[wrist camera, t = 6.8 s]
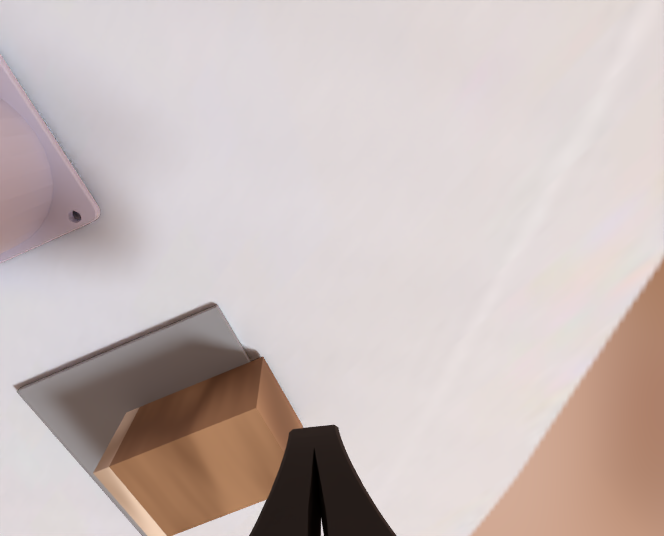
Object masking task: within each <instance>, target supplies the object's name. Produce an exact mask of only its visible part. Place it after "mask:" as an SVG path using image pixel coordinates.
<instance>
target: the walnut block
mask: <svg viewBox="0 0 664 536" xmlns="http://www.w3.org/2000/svg"><path fill="white" fill-rule="evenodd" d="M299 428H303V426H302V424H301V422H300V420H299V419H298V417H297V415H296V413H295V412H294V410H293V408H292V406H291V405H290V403H289V401H288V399H287V398H286V396H285V394H284V392H283V391H282V389H281V387H280V385H279V384H278V382H277V380H276V378H275V377H274V375H273V373H272V371H271V370H270V368H269V366H268V364H267V363H266V361H265V359H264V357H261V358H258V359H256V360H253V361H251V362H249V363H246V364H244V365H241V366H239V367H236V368H234V369H231V370H229V371H227V372H224V373H222V374H219V375H217V376H214V377H212V378H209V379H207V380H205V381H202V382H200V383H197V384H195V385H192V386H190V387H187V388H185V389H183V390H180V391H178V392H175V393H173V394H170V395H168V396H165V397H163V398H161V399H158V400H156V401H153V402H151V403H148V404H146V405H143V406H141V407H139V408H136V409H134V410H131V411H129V412H126V414H125V416H124V418H123V419H122V421H121V423H120V425H119V427H118V429H117V430H116V432H115V434H114V436H113V438H112V439H111V441H110V443H109V445H108V447H107V449H106V450H105V452H104V454H103V456H102V458H101V460H100V461H99V463H98V465H97V467H96V469H95V471H94V472H93V474H94V475H95V476H96V477H97V478H98V479H99V481H100V482H101V483H102V484H103V485H104V486H105V487H106V489H107V490H108V491H109V492H110V493H111V494H112V496H113V497H114V498H115V499H116V500H117V501H118V502H119V504H120V505H121V506H122V507H123V508H124V509H125V511H126V512H127V513H128V514H129V515H130V516H131V517H132V519H133V520H134V521H135V522H136V523H137V524H138V526H139V527H140V528H141V529H142V530H143V531H144V533H145V534H146V535H147V536H172V535H175V534H177V533H180V532H183V531H185V530H188V529H191V528H193V527H196V526H198V525H201V524H204V523H206V522H209V521H211V520H214V519H217V518H219V517H222V516H225V515H227V514H230V513H232V512H235V511H238V510H240V509H243V508H245V507H248V506H251V505H253V504H256V503H259V502H261V501H264V500H266V499H267V498H268V496H269V493H270V491H271V489H272V486H273V483H274V481H275V478H276V476H277V473H278V470H279V468H280V465H281V462H282V459H283V456H284V452H285V449H286V445H287V441H288V436H289V432H290V431H291V430H292V429H299Z"/></svg>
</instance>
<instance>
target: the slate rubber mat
mask: <svg viewBox="0 0 664 536" xmlns="http://www.w3.org/2000/svg"><path fill="white" fill-rule="evenodd" d="M249 362H251V361H250V359H249V357H248V356H247V354H246V352H245V350H244V349H243V347H242V345H241V344H240V342H239V340H238V339H237V337H236V335H235V333H234V332H233V330H232V328H231V327H230V325H229V323H228V322H227V320H226V318H225V316H224V315H223V313H222V311H221V310H220V308H219V306H218V305H215V306H213V307H211V308H208V309H206V310H203V311H201V312H199V313H196V314H194V315H192V316H189V317H187V318H185V319H182V320H180V321H177V322H175V323H173V324H170V325H168V326H166V327H163V328H161V329H158V330H156V331H154V332H151V333H149V334H147V335H144V336H142V337H140V338H137V339H135V340H132V341H130V342H128V343H125V344H123V345H121V346H118V347H116V348H114V349H111V350H109V351H106V352H104V353H102V354H99V355H97V356H95V357H92V358H90V359H87V360H85V361H83V362H80V363H78V364H76V365H73V366H71V367H69V368H66V369H64V370H61V371H59V372H57V373H54V374H52V375H50V376H47V377H45V378H42V379H40V380H38V381H35V382H33V383H31V384H28V385H26V386H24V387H21V388H20V389H19V390H18V391H17V393H18V394H19V395H20V396H21V397H22V398H23V400H24V401H25V402H26V403H27V404H28V405H29V407H30V408H31V409H32V410H33V411H34V412H35V413H36V415H37V416H38V417H39V418H40V419H41V420H42V421H43V423H44V424H45V425H46V426H47V427H48V428H49V429H50V431H51V432H52V433H53V434H54V435H55V436H56V437H57V439H58V440H59V441H60V442H61V443H62V444H63V445H64V447H65V448H66V449H67V450H68V451H69V452H70V454H71V455H72V456H73V457H74V458H75V459H76V460H77V462H78V463H79V464H80V465H81V466H82V467H83V468H84V470H85V471H86V472H87V473H88V474H89V475H90V476H91V478H92V479H93V480H94V481H95V482H96V483H97V484H98V486H99V487H100V488H101V489H102V490H103V491H104V492H105V494H106V495H107V496H108V497H109V498H110V499H111V501H112V502H113V503H114V504H115V505H116V506H117V507H118V509H119V510H120V511H121V512H122V513H123V514H124V515H125V517H126V518H127V519H128V520H129V521H130V522H131V523H132V525H133V526H134V527H135V528H136V529H137V530H138V531H139V533H140V534H141V535H142V536H147V535H146V534H145V533H144V531H143V530H142V529H141V528H140V527H139V526H138V524H137V523H136V522H135V521H134V520H133V519H132V517H131V516H130V515H129V514H128V513H127V512H126V511H125V509H124V508H123V507H122V506H121V505H120V504H119V502H118V501H117V500H116V499H115V498H114V497H113V496H112V494H111V493H110V492H109V491H108V490H107V489H106V487H105V486H104V485H103V484H102V483H101V482H100V481H99V479H98V478H97V477H96V476H95V475H94V474H93V472H94V471H95V469H96V467H97V465H98V463H99V461H100V460H101V458H102V456H103V454H104V452H105V450H106V449H107V447H108V445H109V443H110V441H111V439H112V438H113V436H114V434H115V432H116V430H117V429H118V427H119V425H120V423H121V421H122V419H123V418H124V416H125V414H126V412H129V411H131V410H134V409H136V408H139V407H141V406H143V405H146V404H148V403H151V402H153V401H156V400H158V399H161V398H163V397H165V396H168V395H170V394H173V393H175V392H178V391H180V390H183V389H185V388H187V387H190V386H192V385H195V384H197V383H200V382H202V381H205V380H207V379H209V378H212V377H214V376H217V375H219V374H222V373H224V372H227V371H229V370H231V369H234V368H236V367H239V366H241V365H244V364H246V363H249Z"/></svg>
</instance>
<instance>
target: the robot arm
mask: <svg viewBox="0 0 664 536" xmlns="http://www.w3.org/2000/svg"><path fill="white" fill-rule="evenodd" d="M73 211H76V212H78V213H79V214H80V216H81V220H80V221H79V220H76V219H75V218H74V217H73ZM99 216H100V209H99V206H98V205H97V203H96V202H95V200H94V198H93V197H92V195H91V194H90V192H89V191H88V189H87V188H86V186H85V184H84V183H83V181H82V180H81V178H80V177H79V175H78V174H77V172H76V171H75V169H74V167H73V166H72V164H71V163H70V161H69V160H68V158H67V157H66V155H65V153H64V152H63V150H62V149H61V147H60V146H59V144H58V143H57V141H56V140H55V138H54V136H53V135H52V133H51V132H50V130H49V129H48V127H47V126H46V124H45V122H44V121H43V119H42V118H41V116H40V115H39V113H38V112H37V110H36V108H35V107H34V105H33V104H32V102H31V101H30V99H29V98H28V96H27V95H26V93H25V91H24V90H23V88H22V87H21V85H20V84H19V82H18V81H17V79H16V77H15V76H14V74H13V73H12V71H11V70H10V68H9V67H8V65H7V64H6V62H5V60H4V59H3V57H2V56H1V54H0V263H2V262H4V261H7V260H9V259H11V258H13V257H16V256H18V255H20V254H22V253H25V252H27V251H29V250H31V249H33V248H36V247H38V246H40V245H42V244H45V243H47V242H49V241H51V240H54V239H56V238H58V237H60V236H62V235H65V234H67V233H69V232H71V231H74V230H76V229H78V228H80V227H83V226H85V225H87V224H89V223H91V222H93V221H95V220H96V219H98V218H99ZM321 519H322V526H323V532H324V536H396V534H395V533H394V532H393V530H392V529H391V528H390V526H389V525H388V523H387V522H386V521H385V519H384V518H383V516H382V515H381V513H380V512H379V510H378V509H377V507H376V505H375V504H374V502H373V501H372V499H371V497H370V496H369V494H368V492H367V491H366V489H365V487H364V486H363V484H362V482H361V480H360V478H359V476H358V475H357V473H356V471H355V469H354V467H353V465H352V463H351V461H350V459H349V457H348V454H347V452H346V450H345V447H344V445H343V442H342V440H341V436H340V433H339V429H338V427H337V426H335V425H327V426H318V427H308V428H299V429H292V430H291V431H290V432H289V436H288V441H287V445H286V449H285V452H284V456H283V459H282V462H281V465H280V468H279V470H278V473H277V476H276V478H275V481H274V483H273V486H272V489H271V491H270V493H269V496H268V498H267V500H266V502H265V504H264V507H263V509H262V511H261V513H260V515H259V517H258V520H257V522H256V524H255V526H254V528H253V530H252V532H251V533H250V535H249V536H321Z"/></svg>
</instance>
